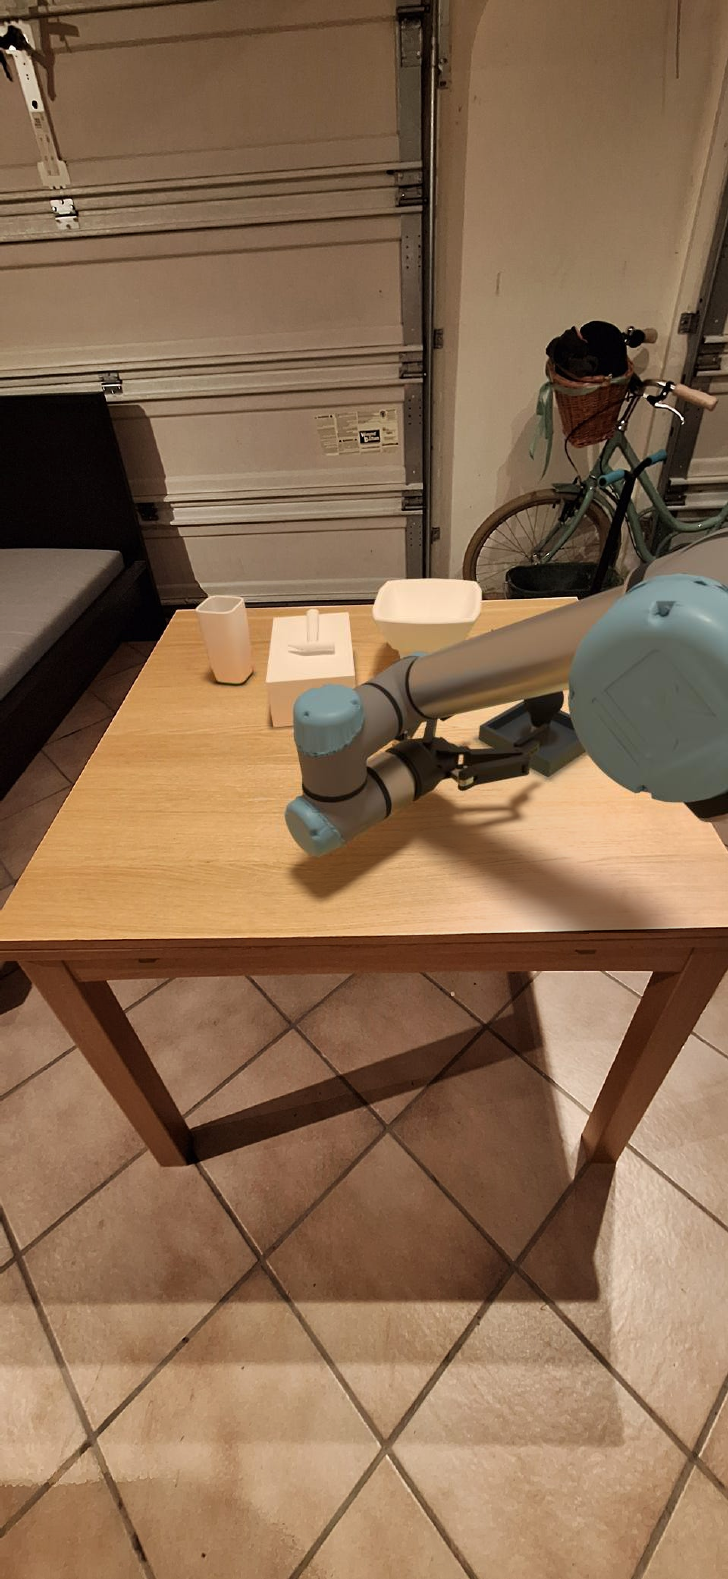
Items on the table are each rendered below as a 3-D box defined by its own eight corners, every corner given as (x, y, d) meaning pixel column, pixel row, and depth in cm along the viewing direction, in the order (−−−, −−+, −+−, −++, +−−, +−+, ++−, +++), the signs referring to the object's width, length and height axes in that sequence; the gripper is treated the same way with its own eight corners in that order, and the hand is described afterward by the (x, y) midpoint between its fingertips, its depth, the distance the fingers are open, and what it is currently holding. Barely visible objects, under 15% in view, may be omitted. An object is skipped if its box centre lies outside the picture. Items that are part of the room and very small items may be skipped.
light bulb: (564, 743, 98) (575, 686, 92) (531, 752, 97) (539, 695, 90) (544, 723, 102) (552, 669, 96) (512, 732, 101) (518, 677, 95)
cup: (226, 667, 125) (210, 594, 116) (259, 670, 123) (246, 596, 114) (209, 685, 120) (191, 611, 110) (244, 689, 118) (229, 613, 108)
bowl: (371, 694, 114) (367, 621, 105) (385, 645, 129) (382, 577, 120) (476, 697, 111) (480, 623, 102) (478, 647, 126) (482, 578, 117)
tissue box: (273, 727, 107) (263, 669, 100) (279, 658, 127) (271, 606, 120) (358, 720, 107) (354, 662, 100) (351, 652, 127) (347, 600, 120)
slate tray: (598, 742, 99) (601, 728, 97) (548, 777, 93) (550, 762, 91) (528, 709, 107) (530, 696, 106) (478, 739, 101) (479, 725, 100)
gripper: (339, 758, 90) (444, 703, 100) (468, 848, 75) (577, 772, 85) (335, 714, 86) (445, 660, 96) (472, 800, 70) (586, 726, 80)
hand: (508, 713), depth 90 cm, fingers open, 13 cm apart
